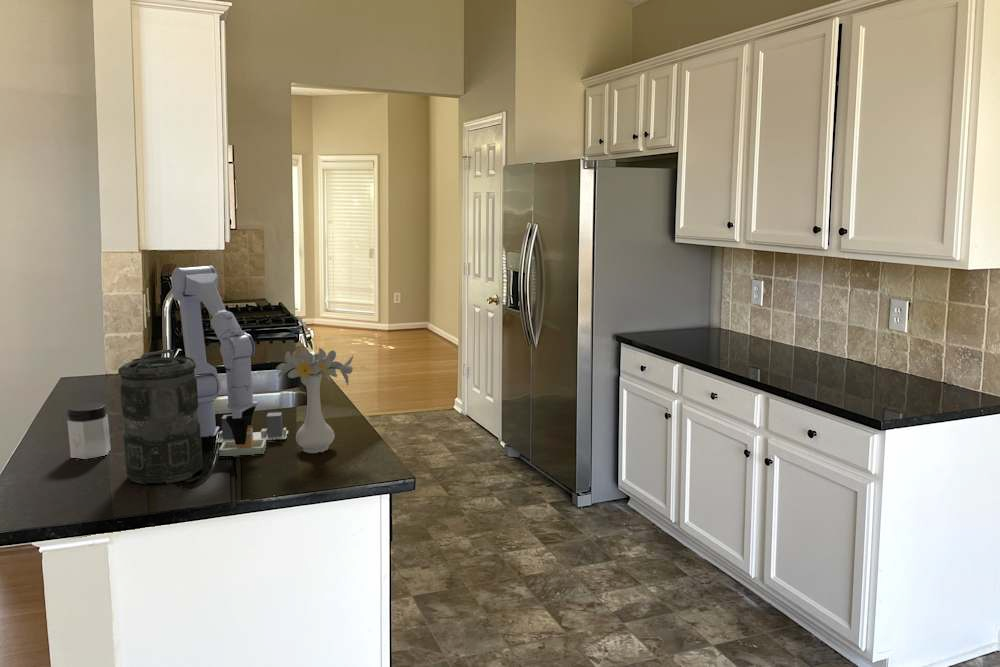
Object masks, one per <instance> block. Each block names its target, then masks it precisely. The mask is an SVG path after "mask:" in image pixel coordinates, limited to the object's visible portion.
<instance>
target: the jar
mask: <svg viewBox="0 0 1000 667" xmlns="http://www.w3.org/2000/svg"><path fill="white" fill-rule="evenodd" d="M67 417H68V420H67V421H66V422H67V430H68V441H69V452H70V459H71V458H81V459H88V458H94V457H99V456H105V455H107V456H108V455H109V453H110V452H111V451H110V450H112V449H111V438H110V437H111V436H110V426H109V416H108V414H107V407H106V404H105V403H102V402H86V403H80V404H79V403H78V404H75V405H72V406H69V407H68V408H67ZM109 451H110V452H109ZM105 457H106V456H105Z"/></svg>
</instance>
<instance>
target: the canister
mask: <svg viewBox="0 0 1000 667" xmlns="http://www.w3.org/2000/svg"><path fill="white" fill-rule="evenodd" d="M168 353H169V356H163V357H162V356H161V357H160V356H159V357H158V356H157V355H160V354H161V355H162V354H168ZM155 355H156V356H155ZM195 368H196V363H195V362H194V361H193V359H191V358H189V357H186V356H185V355H184V356H182V355H175V356H174V354H173V350H171V349H164V350H163V349H162V350H158V351H151V352H147V353H143V354H142V355H141V356H140V357H139V358H134V359H132V360H131V361H128V362H126V363H125V364H123V365H122V366H120V367H119V368H118V369H117V372H118V374H119V375H120V398H121V411H122V412H121V413H122V416H123V421H124V435H123V447H124V459H125V469H126V475H127V478H128V479H129V480H130V481H131V482H133V483H135V484H138V485H139V484H140V485H145V484H146V485H148V484H161V483H162V484H163V483H165V484H166V485H168V484H174V483H179V482H181V481H185V480H189V479H191V478H192V477H193V476H194V474H196V473H197V472H199V471H200V470H201V469H202V468H203V450H202V437H201V432H200V423H199V422H198V416H197V408H198V395H197V380H196V378H195V376H196V375H195V372H194V369H195ZM146 485H145V486H146Z"/></svg>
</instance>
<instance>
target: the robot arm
mask: <svg viewBox="0 0 1000 667" xmlns="http://www.w3.org/2000/svg"><path fill="white" fill-rule="evenodd" d="M170 281H171V282H170V283H171V290H172V291H171V292H172V296H173V297H172V298H173V299H174V300H175V301H178V302H179V303H178V304H179V305H178V306H179V311H180V318H181V326H182V338H183V346H184V352H185V355H184V356H185V357H189V358H191V359H193V361H194V362H195V363H196V368H195V369H194V372H195V378H196V380H197V395H198V408H197V416H198V422H199V423H200V432H201V438H209V436H211V437H215V436H217V433H219V430H220V428H221V427H220V426H216V410H215V400H217V396H219V395H220V392H221V388H222V386H221V381H220V378H219V375H218V371H217V368H216V367H215V366H213V365H211V364H210V363H208V362H207V354H206V345H205V335H204V327H203V325H204V324H203V320H202V319H203V318H202V310H201V302H202V304H204V305H203V306H204V307H205V308H206V310H207V312H208V313H209V314H210V316H211V317H212V318H211V320H210V326H211V327H212V329H213V330H214V333H215V335H216V337H217V338H218V340H219V342H220V347H219V351H220V355H221V357H222V362H223V363H222V364H223V366H224V368H225V371H226V372H225V373H226V385H227V386H226V389H227V404H226V405H227V408H228V409H229V410H230V411H231V415H232V416H226V421H227V423H228V424H229V426H230V428H231V430H232V433H233V437H234V440H235V443H236V445H242V444H245V442H246V436H247V427H248V425H252V421H253V420H252V419H253V415H254V412H255V410H256V408H257V406H258V405H259V401H257V400H254V397H253V395H254V394H253V380H252V379H253V378H252V377H253V376H252V361H251V360H252V358H253V357H254V356H255V353H256V345H255V344H256V343H255V342H254V339H253V337H252V335H251V334H249V333H247V332H246V331H243V329H242V328H241V325H240V324H239V323H238V321H237V318H236V317H235V315H234V313H233V312H232V311H228V310H226V306H225V304H224V302H223V300H222V297H221V294H220V293H219V291H218V286H219V276H218V272H217V269H215V267H214V266H213V265H211V264H210V265H206V266H192V267H191V266H190V267H175V268H174V270H173V271H172V274H171V276H170Z"/></svg>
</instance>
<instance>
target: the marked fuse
mask: <svg viewBox="0 0 1000 667" xmlns="http://www.w3.org/2000/svg"><path fill="white" fill-rule="evenodd" d="M251 447H253V425H252V424H251V425H248V427H247V436H246V442H245V444H242V445H236V448H251Z"/></svg>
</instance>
